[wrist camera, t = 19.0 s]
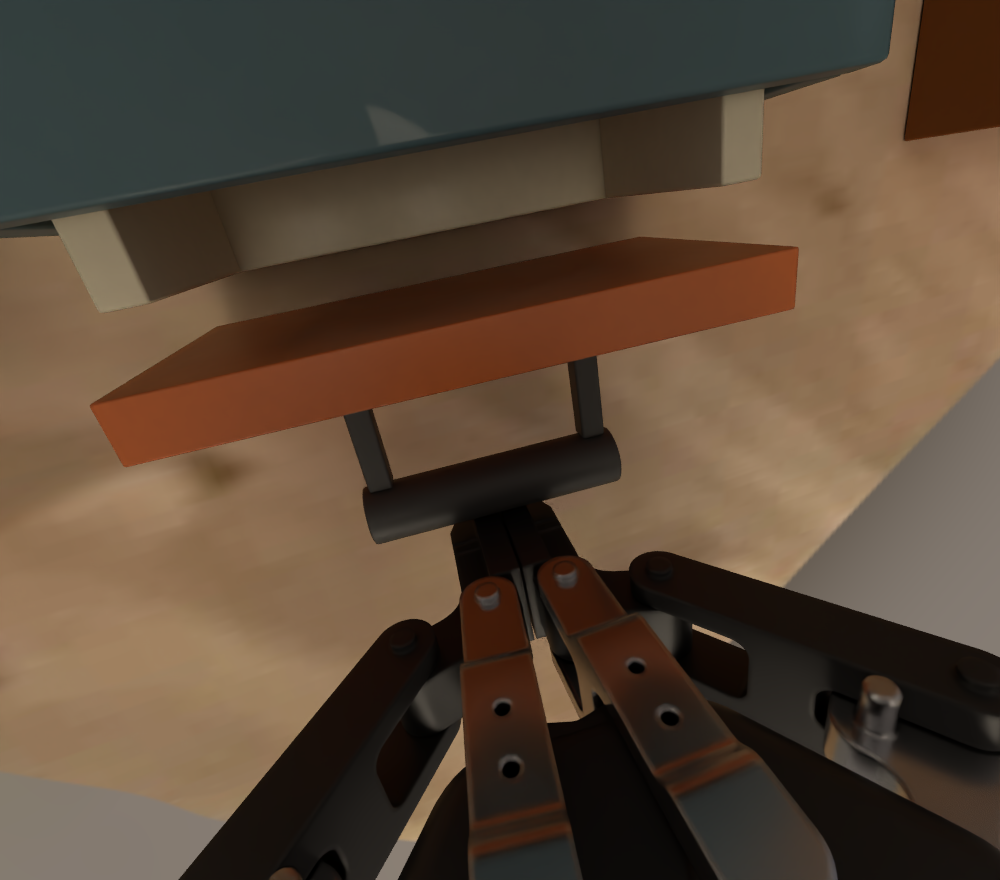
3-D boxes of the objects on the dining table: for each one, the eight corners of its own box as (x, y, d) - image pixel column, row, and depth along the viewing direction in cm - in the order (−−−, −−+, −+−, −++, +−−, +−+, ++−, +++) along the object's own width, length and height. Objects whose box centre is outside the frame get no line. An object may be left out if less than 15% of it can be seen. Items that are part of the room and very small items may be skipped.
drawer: (649, 400, 18) (782, 492, 12) (285, 491, 17) (225, 648, 11) (606, -389, 11) (904, -1231, 4) (-66, -343, 9) (-978, -1469, 3)
